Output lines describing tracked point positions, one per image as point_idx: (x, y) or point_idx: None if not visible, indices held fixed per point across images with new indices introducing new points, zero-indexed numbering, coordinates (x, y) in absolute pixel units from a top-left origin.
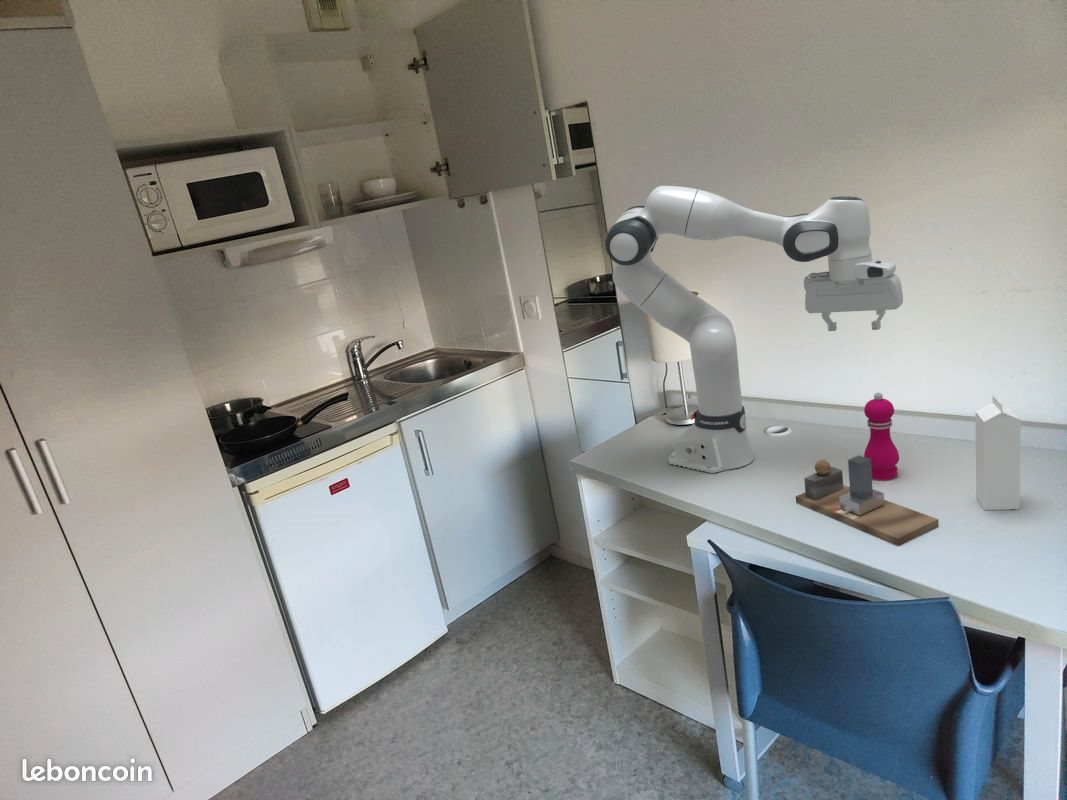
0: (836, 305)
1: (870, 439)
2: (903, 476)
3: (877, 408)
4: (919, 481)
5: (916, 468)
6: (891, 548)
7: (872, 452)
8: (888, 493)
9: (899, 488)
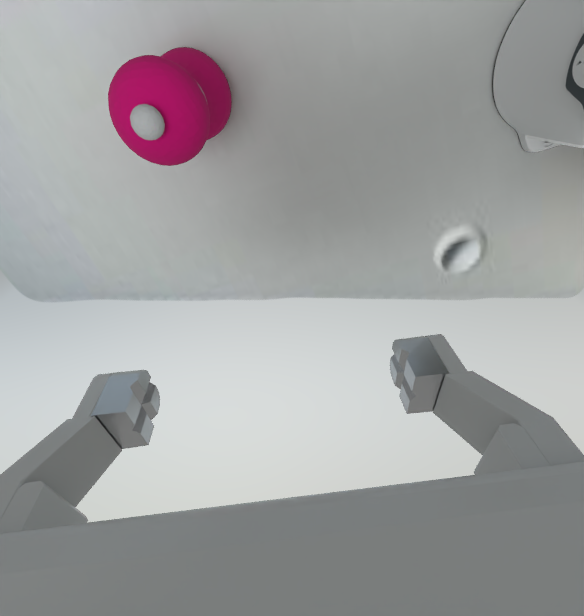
0: (468, 583)
1: (201, 84)
2: None
3: (134, 66)
4: None
5: None
6: None
7: (189, 55)
8: None
9: (127, 20)
